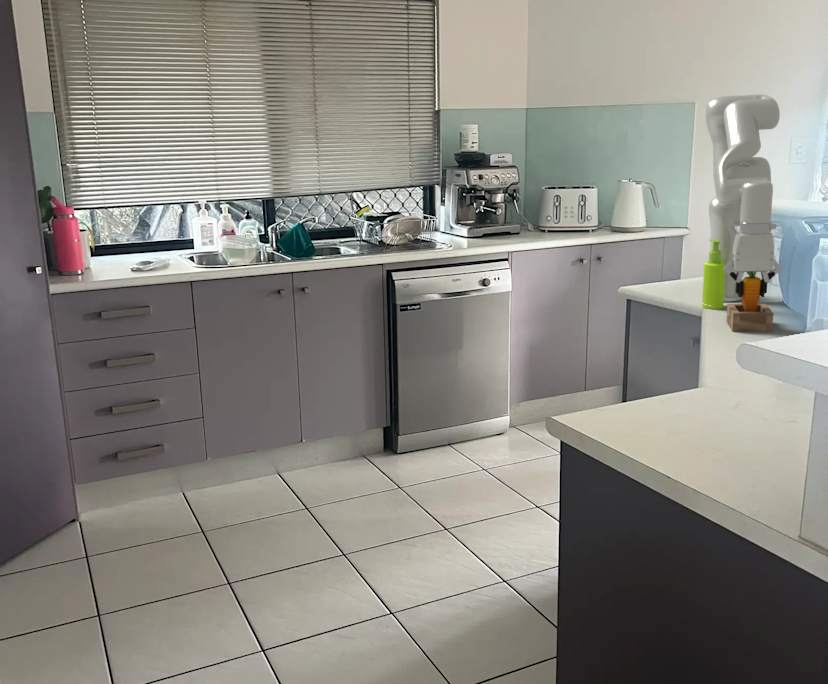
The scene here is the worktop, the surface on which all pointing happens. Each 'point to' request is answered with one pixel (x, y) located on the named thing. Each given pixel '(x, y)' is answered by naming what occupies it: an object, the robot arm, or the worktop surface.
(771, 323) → the holder
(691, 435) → the worktop surface
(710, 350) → the worktop surface
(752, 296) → the carrot
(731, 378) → the worktop surface
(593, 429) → the worktop surface
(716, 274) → the soap dispenser
